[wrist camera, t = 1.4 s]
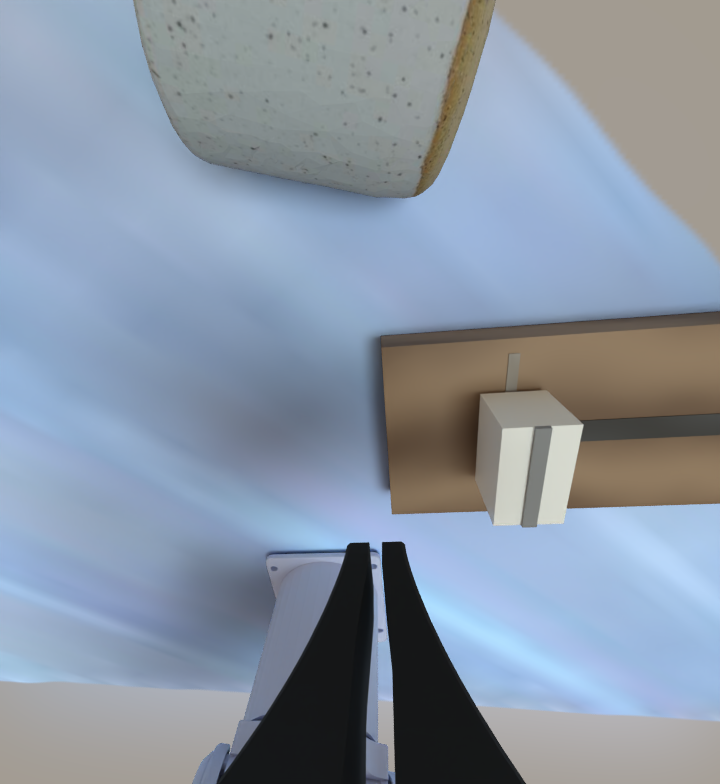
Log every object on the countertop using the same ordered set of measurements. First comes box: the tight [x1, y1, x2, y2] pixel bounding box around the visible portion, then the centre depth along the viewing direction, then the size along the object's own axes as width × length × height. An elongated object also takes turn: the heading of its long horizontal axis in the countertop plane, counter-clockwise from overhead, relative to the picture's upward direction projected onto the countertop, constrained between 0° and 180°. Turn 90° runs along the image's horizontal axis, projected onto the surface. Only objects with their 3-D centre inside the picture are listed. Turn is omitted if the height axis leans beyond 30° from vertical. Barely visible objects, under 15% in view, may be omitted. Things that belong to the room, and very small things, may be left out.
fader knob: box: [475, 390, 584, 527], centre depth 16 cm, size 5×3×3 cm, turn 5°
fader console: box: [381, 311, 720, 514], centre depth 18 cm, size 10×24×2 cm, turn 95°
